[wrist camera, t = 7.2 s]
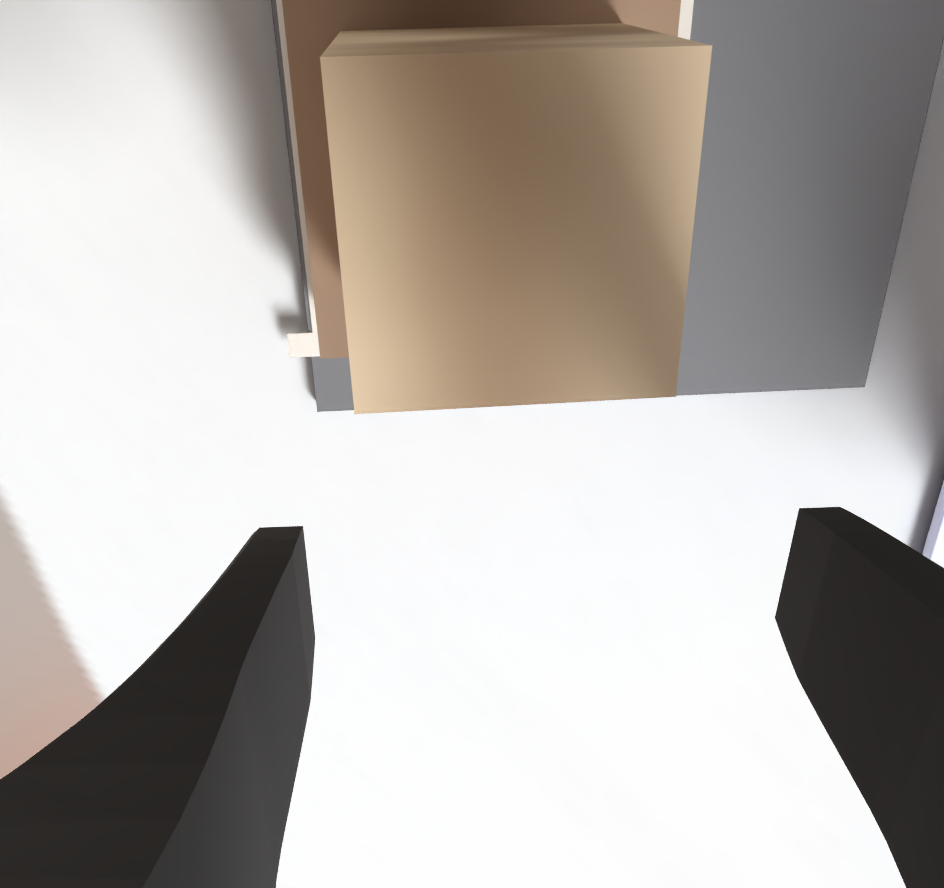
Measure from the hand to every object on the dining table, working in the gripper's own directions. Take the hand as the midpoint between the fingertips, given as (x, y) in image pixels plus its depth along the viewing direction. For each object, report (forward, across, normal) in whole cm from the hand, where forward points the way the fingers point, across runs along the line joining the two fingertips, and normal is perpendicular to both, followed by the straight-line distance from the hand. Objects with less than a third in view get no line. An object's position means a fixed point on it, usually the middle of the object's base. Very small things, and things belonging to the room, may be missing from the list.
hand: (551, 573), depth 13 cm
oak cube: (+7, 0, -4) cm, 8 cm away
